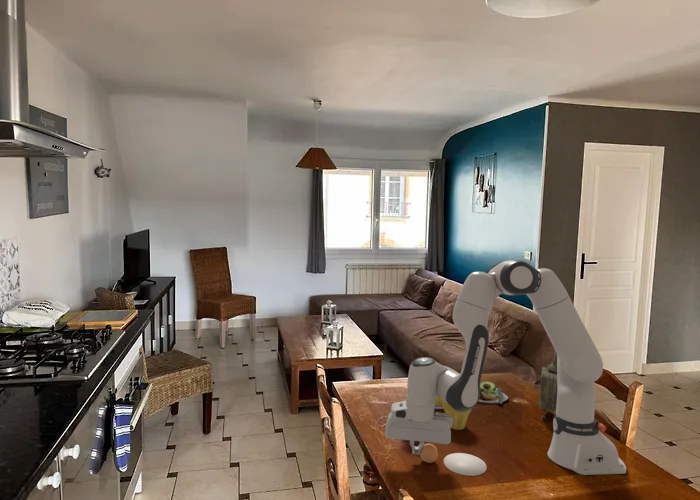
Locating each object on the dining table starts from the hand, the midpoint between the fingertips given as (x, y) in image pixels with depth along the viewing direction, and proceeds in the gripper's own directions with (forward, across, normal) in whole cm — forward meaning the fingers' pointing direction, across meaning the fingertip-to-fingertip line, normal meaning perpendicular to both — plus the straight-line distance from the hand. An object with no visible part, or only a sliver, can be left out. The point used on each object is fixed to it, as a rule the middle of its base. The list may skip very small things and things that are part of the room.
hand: (416, 453), depth 149 cm
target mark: (+2, -15, 0) cm, 15 cm away
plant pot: (+2, -16, -27) cm, 32 cm away
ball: (0, -4, 0) cm, 4 cm away
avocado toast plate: (+1, -33, -59) cm, 68 cm away
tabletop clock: (0, -55, -42) cm, 70 cm away
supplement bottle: (+2, -11, -44) cm, 46 cm away
